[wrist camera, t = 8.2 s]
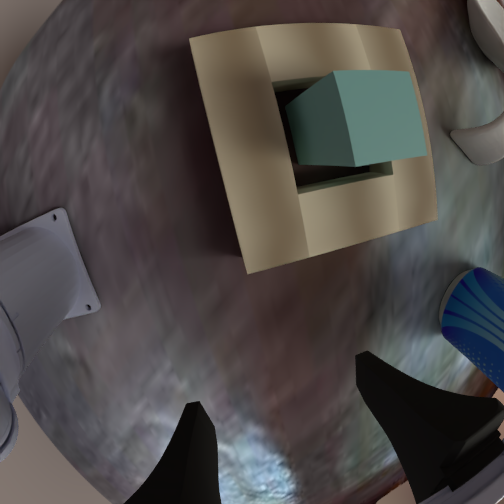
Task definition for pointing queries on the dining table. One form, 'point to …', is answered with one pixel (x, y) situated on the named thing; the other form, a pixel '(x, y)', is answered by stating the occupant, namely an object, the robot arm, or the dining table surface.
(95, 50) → the dining table surface
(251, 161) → the board
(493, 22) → the spoon rest
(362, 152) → the teal block
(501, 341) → the beer can
